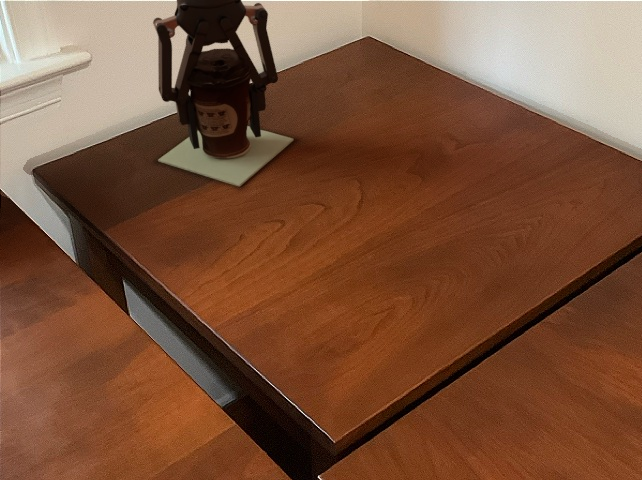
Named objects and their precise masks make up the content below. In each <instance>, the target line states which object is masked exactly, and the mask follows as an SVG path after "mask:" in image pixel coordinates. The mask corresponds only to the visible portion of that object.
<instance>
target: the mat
mask: <svg viewBox="0 0 642 480" xmlns="http://www.w3.org/2000/svg"><path fill="white" fill-rule="evenodd" d="M260 130H261V137H255V136H254V134H253V132H252V130H251V128H250V125H248V126H247V131H246V132H247V138H248V140H249V141H250V146H251V147H250V150H248V151H247V152H246V154H244V155H241V156H238V157H233V158H215V157H211V156H209V155H207V154H206V153H204V151H203V146H202V137H201V134H200V132H199V131H198V130H197V133H198V140H199V147H200V148H198V149H194V148H193V146H192V143H191V141H190V138H189V136H188V137H187V138H186V139H184V140H183V141H181V142H180V143H179V144H177V145H176V146H175V147H173V148H172V149H170V150H169V151H168V152H167V153H165V154H163V156H160V158H158V159H157V161H158V163H162V164H165V165H168V166H171V167H175V168H178V169H181V170H184V171H187V172H190V173H193V174H197V175H200V176H203V177H207V178H210V179H212V180H216V181H220V182H223V183H225V184H229V185H232V186H235V187H241V186H242V185H243V184H245V183H246V182H247V181H248V180H249V179H251V178H252V177H253V176H254V175H255V174H256V173H257V172H259V171H260V170H261V169H262V168H263V167H265V166H266V165H267V164H268V163H270V161H271V160H273V159H274V158H275V157H276V156H277V155H279V154H280V153H281V152H282V151H283V150H284V149H285V148H286V147H288V146H289V145H290V144H291V143H292V142H294V138H292V137H289V136H285V135H282V134H277V133H274V132H271V131H267V130H263V129H260Z"/></svg>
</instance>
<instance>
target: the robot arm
mask: <svg viewBox="0 0 642 480" xmlns="http://www.w3.org/2000/svg"><path fill="white" fill-rule="evenodd" d="M245 17H247V20H248V22H249V23H250V24H251V25H252V29H253V34H254V38H255V41H256V46H257V49H258V55H259V58H260V62H261V65H262V70H263V71H261V72H259V71H258V69H257V68H256V66H255V64H254V62H253V61H252V59H251V57H250V55H249V53H248V51H247V50H246V47H245V46H244V44H243V42H242V41H241V39H240V37H239V34H238V33H237V31H238V29H239V27H240V26H241V24H242V22H243V21H244V19H245ZM268 17H269V13H268V11H267V10H266V9H265V7H264V5H263V4H262V3H260V2H256V3H255V4H253V5H246V4H244V3H243V1H242V0H176V9H175V11H174V15H172V16H169V17H166V18H164V19H163V18H161V17H156V18H154V19H153V21H152V25H153V27H154V29H155V32H156V34H157V40H158V41H157V42H158V43H157V45H158V46H157V47H158V50H157V51H158V52H157V53H158V55H157V56H158V63H157V65H158V66H157V67H158V73H157V74H158V93H159V95H160V97H161V100H162V101H163V102H165V103H168V102H173V103H175V107H176V114H177V119H178V121H179V123H180V125H181V126H187V130H188V137H189V138H190V141H191V143H192V146H193V148H194V149H198V148H200V147H199V140H198V133H197V131H198V129H197V126H196V119H195V112H194V105H193V102H192V100H191V99H190V87H191V85H190V84H189V83H188V82H187V79H188V78H189V76H190V75H191V73H192V72H193V71H195V68H193V67H196V65H197V62H198V58H199V55H200V54H201V52H202V51H203V49H204V47H209V46H212V45H214V44H228V43H229V44H230V45H231V47H232V49H234V51H235V52H236V54H237V56H238V57H239V59H245V60H244V62H243V64H244V65H246V66H249V67H251V76H250V78H251V80H250V81H251V82H250V87H249V91H250V98H251V108H250V114H251V118H250V119H249V127H250V128H251V130H252V132H253V134H254V136H255V137H261V130H262V129H261V121H260V112H263V111H265V110H266V109H267V108H266V107H267V105H266V91H267V88H268V87H267V86H268V85H270V84H276V83H277V82H278V81H279V76H278V72H277V67H276V63H275V59H274V54H273V51H272V46H271V42H270V38H269V34H268V29H267V25H268ZM177 27H180V29H181V30H183V32H184V33H185V34H186V37H185V47H184V51H183V55H182V58H181V62H180V66H179V69H178V73H177V76H176V80H175V84H174V87H173V43H172V38H174V37H175V35H176V29H177Z"/></svg>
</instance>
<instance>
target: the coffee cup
mask: <svg viewBox="0 0 642 480" xmlns="http://www.w3.org/2000/svg"><path fill="white" fill-rule="evenodd" d="M244 60H245V59H239V57H238V56H237V54H236V52H235V51H234V49H233V48H228V47H226V48H212V49H209V50H202V52H201V54H200V55H199V58H198V62H197V65H196V67H193V68H195V71H193V72H192V73H191V75H190V76H189V78H188V79H187V82H188V83H189V84H190V85H191V87H190V90H189V95H190V99H191V100H192V102H193V105H194V112H195V119H196V126H197V131H199V132H200V134H201V137H202V146H203V151H204V153H206V154H207V155H209V156H211V157H215V158H233V157H238V156H241V155H244V154H246V152H247V151H248V150H250V147H251V146H250V141H249V140H248V138H247V132H246V131H247V126H249V122H250V120H249V119H250V118H251V114H250V108H251V98H250V91H249V87H250V83H251V81H252V80H251V78H250V76H251V67H249V66H246V65H244V64H243V62H244Z"/></svg>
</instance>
